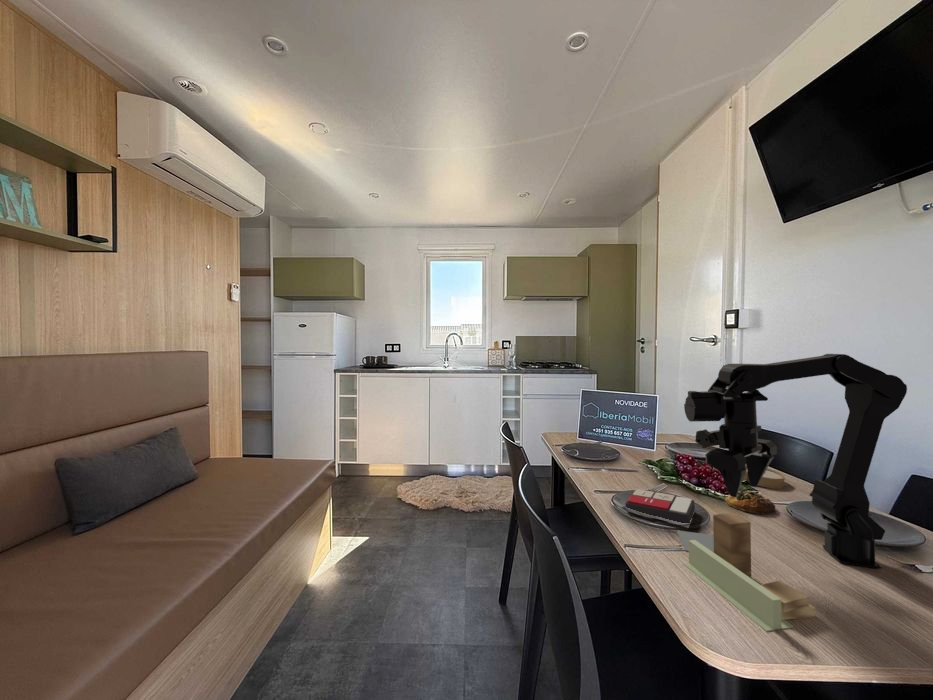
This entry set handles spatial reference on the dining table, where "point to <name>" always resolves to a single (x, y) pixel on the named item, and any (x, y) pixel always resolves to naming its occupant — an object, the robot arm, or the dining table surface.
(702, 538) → the felt pad
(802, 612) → the offcut lower
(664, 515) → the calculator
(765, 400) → the robot arm
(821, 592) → the dining table surface
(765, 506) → the bread roll
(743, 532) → the brown wooden block
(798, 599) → the offcut upper
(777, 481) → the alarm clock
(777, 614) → the green flanged rail
